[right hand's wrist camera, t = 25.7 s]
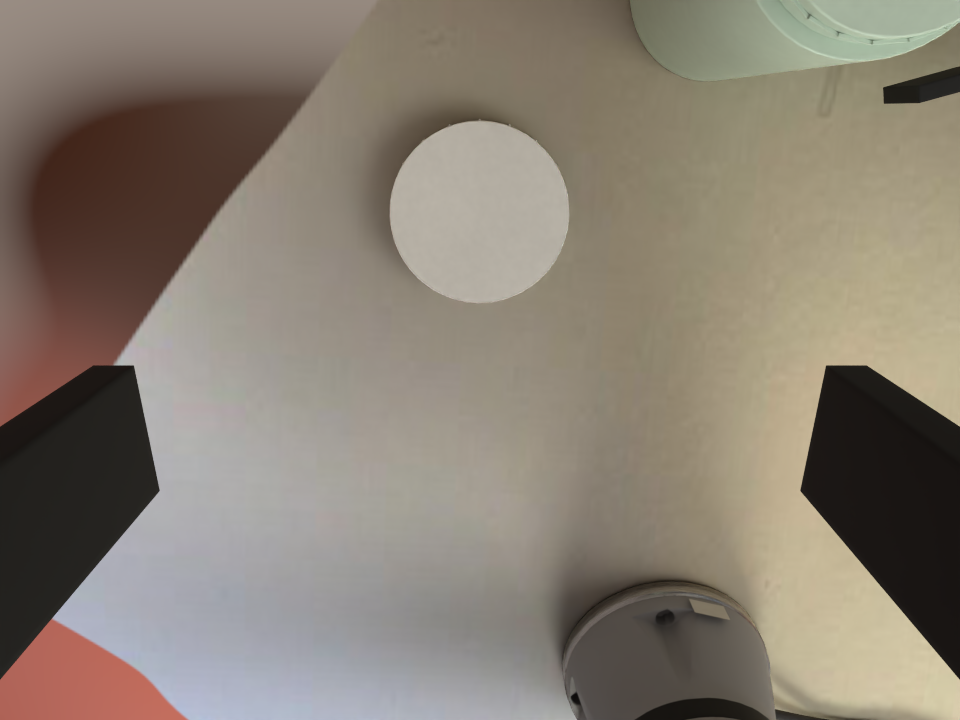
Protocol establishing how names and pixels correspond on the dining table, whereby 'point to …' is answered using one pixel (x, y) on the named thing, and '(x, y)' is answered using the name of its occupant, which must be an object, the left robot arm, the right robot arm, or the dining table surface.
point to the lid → (479, 211)
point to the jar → (783, 33)
